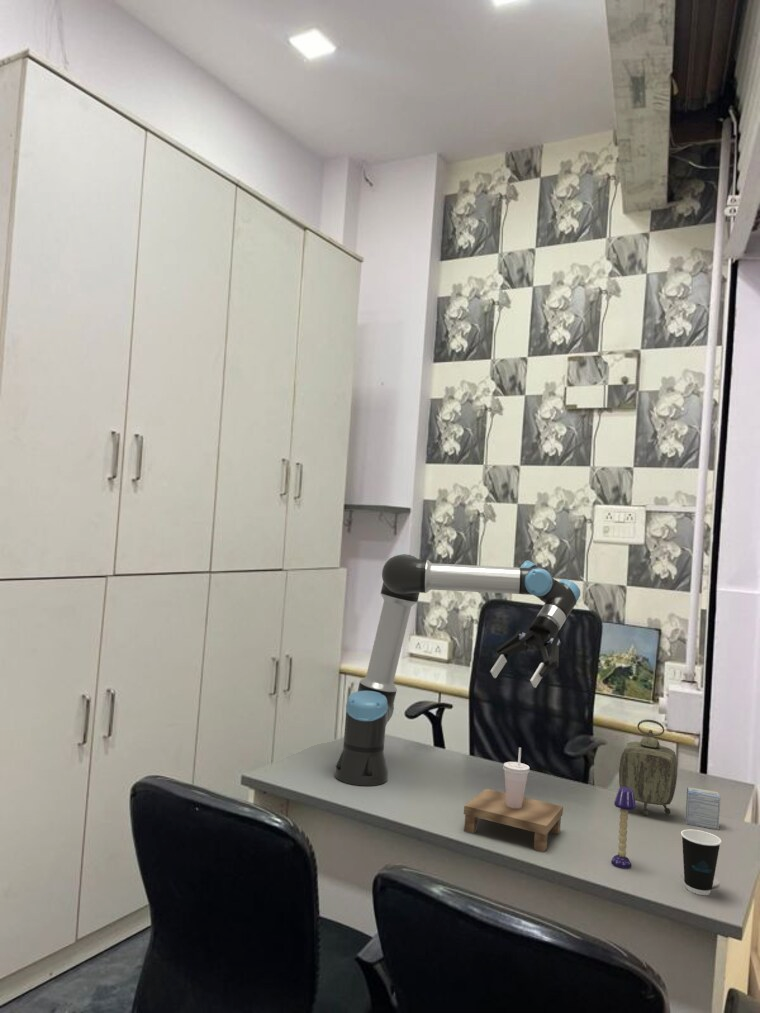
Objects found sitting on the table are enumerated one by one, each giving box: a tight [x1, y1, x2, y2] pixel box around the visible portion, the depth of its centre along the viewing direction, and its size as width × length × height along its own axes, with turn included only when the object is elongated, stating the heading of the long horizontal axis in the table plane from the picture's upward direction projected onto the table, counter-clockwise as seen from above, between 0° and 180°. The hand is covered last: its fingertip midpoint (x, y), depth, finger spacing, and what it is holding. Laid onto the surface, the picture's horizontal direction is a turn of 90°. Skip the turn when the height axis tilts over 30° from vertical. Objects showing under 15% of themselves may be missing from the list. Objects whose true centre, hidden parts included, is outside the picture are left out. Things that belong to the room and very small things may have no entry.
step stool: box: [463, 788, 564, 853], centre depth 181 cm, size 20×16×6 cm
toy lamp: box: [610, 786, 637, 869], centre depth 167 cm, size 5×5×17 cm
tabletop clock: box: [618, 719, 678, 817], centre depth 202 cm, size 14×9×25 cm, turn 65°
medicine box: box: [685, 786, 721, 830], centre depth 197 cm, size 8×4×9 cm, turn 71°
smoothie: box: [502, 747, 530, 809], centre depth 182 cm, size 6×6×14 cm
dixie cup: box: [680, 828, 723, 896], centre depth 157 cm, size 8×8×11 cm
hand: (512, 679), depth 205 cm, fingers open, 13 cm apart
